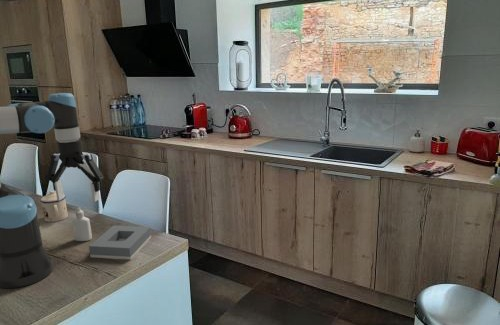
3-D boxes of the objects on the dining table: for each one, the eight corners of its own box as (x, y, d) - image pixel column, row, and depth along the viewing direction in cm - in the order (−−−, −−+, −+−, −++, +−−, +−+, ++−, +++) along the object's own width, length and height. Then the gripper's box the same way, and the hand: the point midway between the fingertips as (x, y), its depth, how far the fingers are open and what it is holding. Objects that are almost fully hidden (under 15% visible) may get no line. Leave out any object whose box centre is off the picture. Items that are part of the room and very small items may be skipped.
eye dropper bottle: (83, 235, 141) (79, 204, 138) (93, 238, 138) (89, 207, 135) (73, 240, 137) (68, 208, 134) (83, 243, 134) (78, 211, 131)
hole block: (130, 259, 122) (129, 248, 121) (90, 257, 124) (88, 246, 123) (151, 237, 137) (150, 227, 136) (115, 235, 140) (113, 225, 139)
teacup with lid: (43, 217, 159) (38, 190, 156) (67, 212, 164) (62, 186, 161) (45, 227, 149) (40, 198, 146) (70, 221, 154) (66, 194, 151)
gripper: (109, 137, 130) (117, 196, 135) (42, 137, 134) (53, 195, 140) (97, 142, 123) (105, 204, 128) (27, 142, 127) (39, 202, 132)
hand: (78, 199), depth 134 cm, fingers open, 13 cm apart
